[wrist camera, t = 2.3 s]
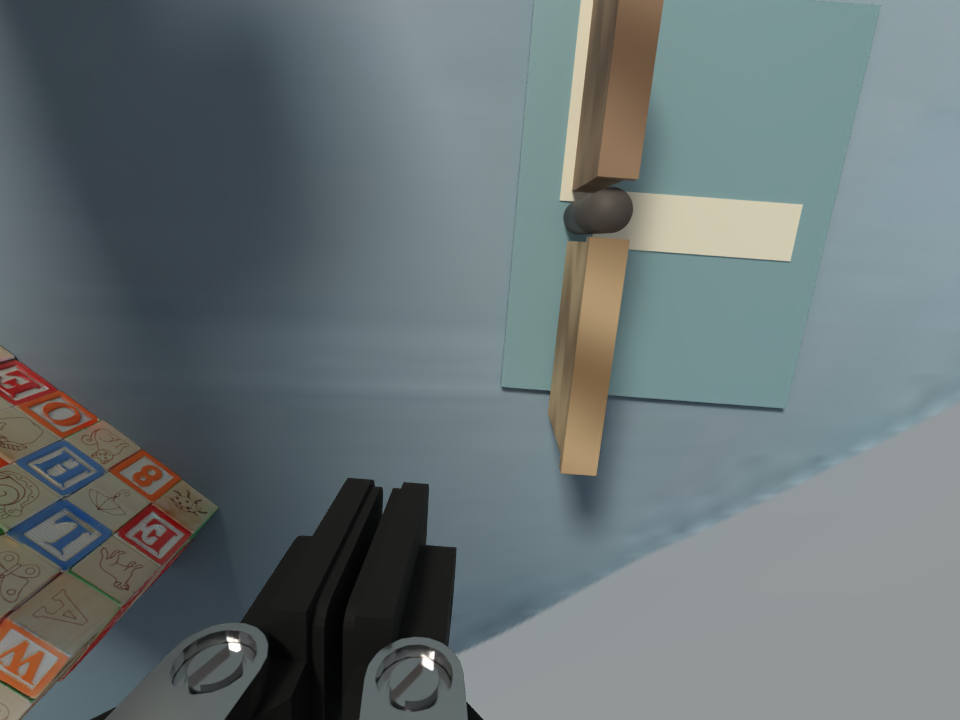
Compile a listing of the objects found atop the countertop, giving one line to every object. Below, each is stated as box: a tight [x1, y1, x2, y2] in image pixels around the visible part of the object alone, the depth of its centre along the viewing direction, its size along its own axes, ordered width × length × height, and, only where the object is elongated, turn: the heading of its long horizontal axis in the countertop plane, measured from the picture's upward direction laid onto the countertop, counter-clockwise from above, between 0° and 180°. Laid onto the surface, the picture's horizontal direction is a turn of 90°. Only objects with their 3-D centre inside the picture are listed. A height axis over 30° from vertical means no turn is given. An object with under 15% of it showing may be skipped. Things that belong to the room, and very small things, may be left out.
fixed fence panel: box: [563, 0, 664, 234], centre depth 22 cm, size 12×2×8 cm, turn 176°
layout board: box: [501, 0, 881, 408], centre depth 27 cm, size 21×17×1 cm
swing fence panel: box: [548, 237, 630, 476], centre depth 24 cm, size 10×2×7 cm, turn 176°
